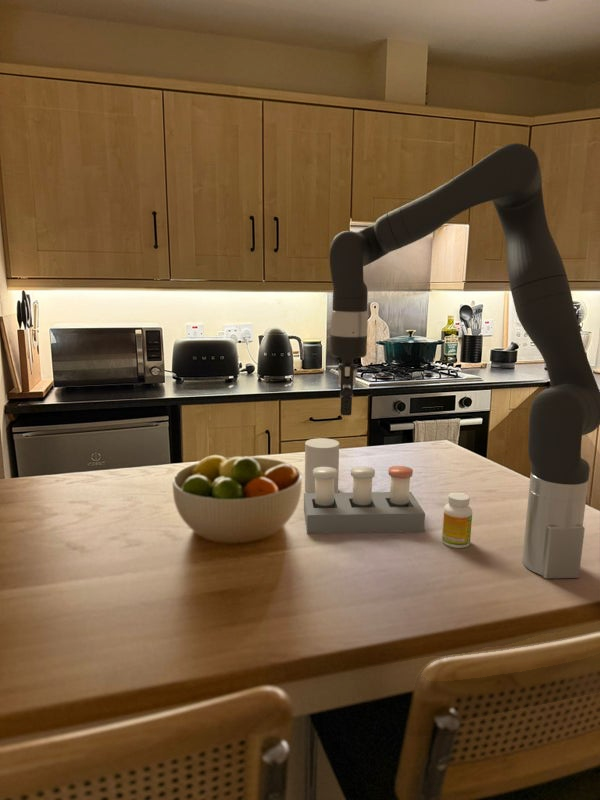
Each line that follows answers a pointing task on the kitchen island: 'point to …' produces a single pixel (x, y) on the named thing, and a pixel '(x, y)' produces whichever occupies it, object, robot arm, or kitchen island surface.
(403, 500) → the red plunger
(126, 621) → the kitchen island surface
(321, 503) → the far plunger
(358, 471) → the mid plunger
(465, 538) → the supplement bottle
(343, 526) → the panel
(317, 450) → the white cylinder
